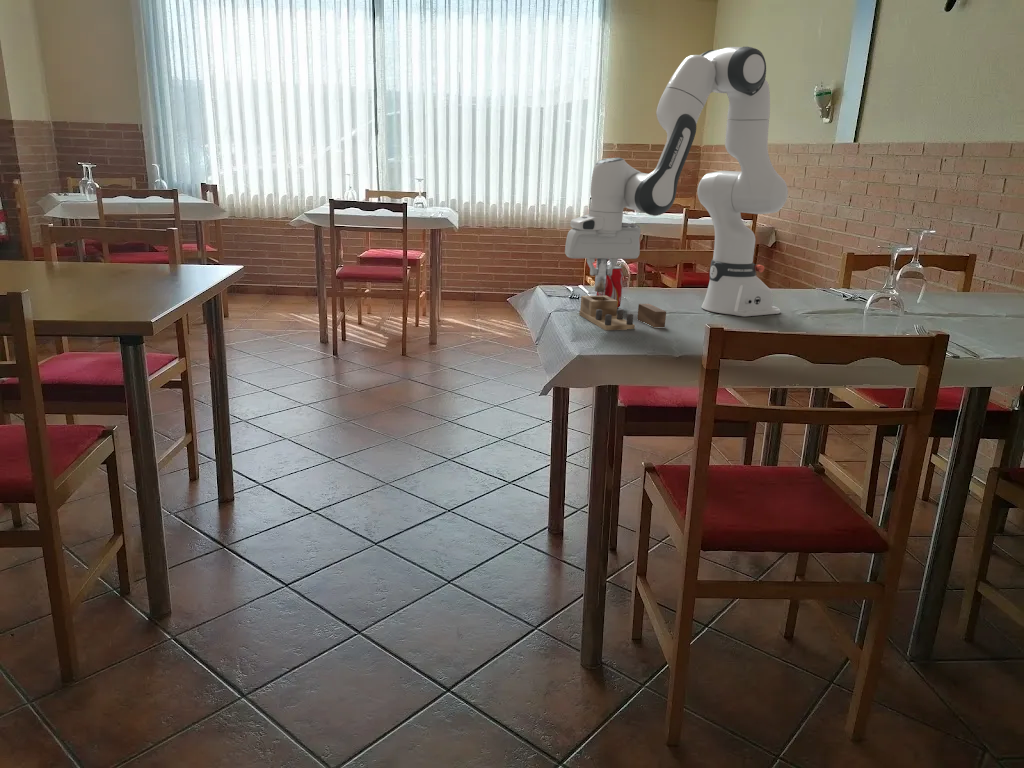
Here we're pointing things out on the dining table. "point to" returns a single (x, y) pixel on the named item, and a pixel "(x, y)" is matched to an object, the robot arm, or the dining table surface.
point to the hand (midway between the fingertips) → (600, 275)
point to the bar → (651, 315)
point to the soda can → (614, 285)
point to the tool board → (613, 322)
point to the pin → (601, 274)
